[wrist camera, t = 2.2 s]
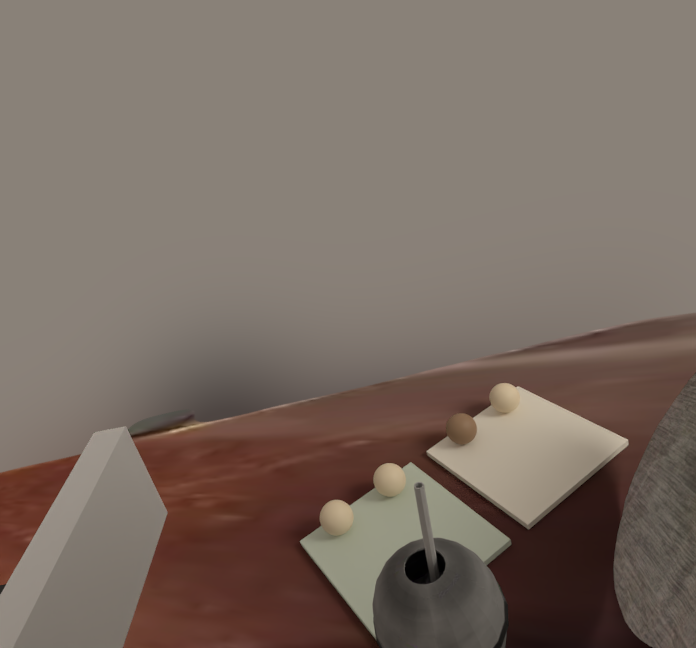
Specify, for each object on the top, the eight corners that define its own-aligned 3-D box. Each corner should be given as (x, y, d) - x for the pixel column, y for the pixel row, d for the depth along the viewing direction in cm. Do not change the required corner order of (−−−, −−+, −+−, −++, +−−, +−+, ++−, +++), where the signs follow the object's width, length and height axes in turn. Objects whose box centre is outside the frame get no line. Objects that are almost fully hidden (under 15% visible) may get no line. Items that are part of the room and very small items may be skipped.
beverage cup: (394, 745, 37) (299, 532, 27) (450, 646, 41) (386, 433, 32) (501, 822, 32) (432, 599, 23) (551, 701, 37) (511, 472, 27)
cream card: (518, 390, 63) (514, 363, 61) (628, 444, 52) (627, 414, 51) (427, 455, 58) (420, 428, 56) (528, 529, 48) (523, 499, 46)
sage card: (412, 466, 57) (404, 439, 56) (511, 544, 47) (505, 513, 45) (301, 545, 52) (289, 518, 51) (385, 651, 42) (373, 621, 40)
